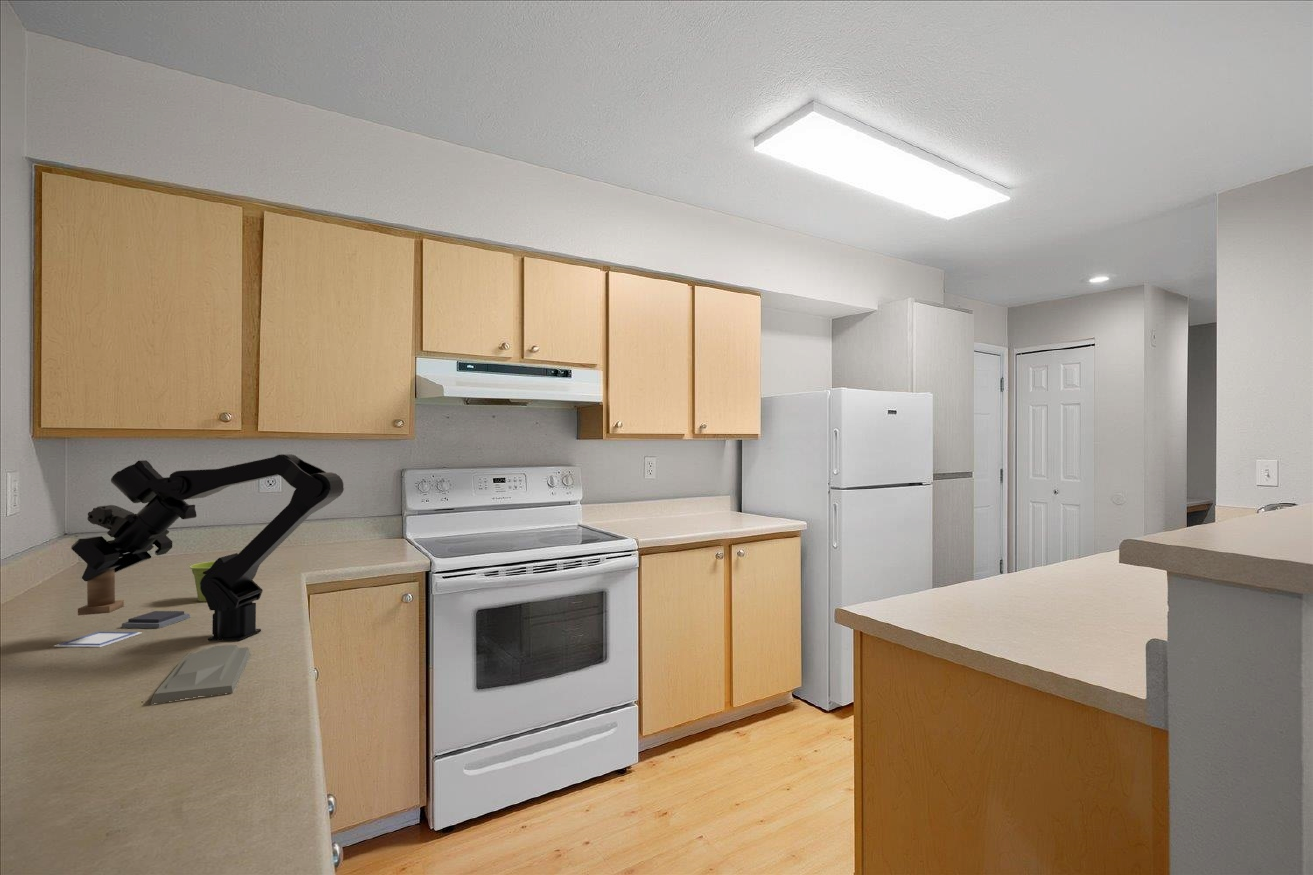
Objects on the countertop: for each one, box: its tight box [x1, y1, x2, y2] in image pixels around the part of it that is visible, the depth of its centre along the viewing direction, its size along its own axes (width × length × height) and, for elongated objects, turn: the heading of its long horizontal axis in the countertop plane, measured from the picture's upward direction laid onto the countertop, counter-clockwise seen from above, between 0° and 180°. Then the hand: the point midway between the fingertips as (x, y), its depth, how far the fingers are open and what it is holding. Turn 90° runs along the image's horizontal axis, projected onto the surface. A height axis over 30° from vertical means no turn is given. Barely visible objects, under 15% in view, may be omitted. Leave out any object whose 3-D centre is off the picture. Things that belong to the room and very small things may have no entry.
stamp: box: [77, 563, 125, 616], centre depth 121 cm, size 5×5×12 cm
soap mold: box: [150, 644, 251, 704], centre depth 100 cm, size 10×20×4 cm, turn 26°
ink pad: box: [121, 610, 191, 629], centre depth 132 cm, size 8×8×2 cm
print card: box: [53, 631, 143, 648], centre depth 120 cm, size 9×9×1 cm
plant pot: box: [189, 560, 216, 603], centre depth 154 cm, size 9×9×9 cm
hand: (93, 577), depth 121 cm, fingers closed on stamp, 4 cm apart
